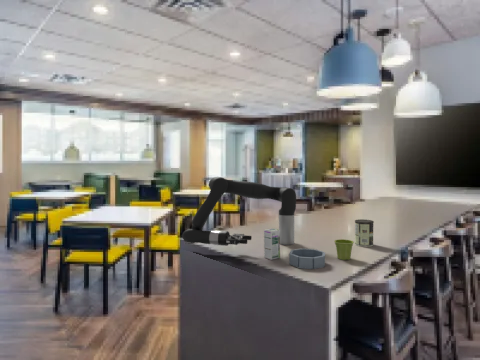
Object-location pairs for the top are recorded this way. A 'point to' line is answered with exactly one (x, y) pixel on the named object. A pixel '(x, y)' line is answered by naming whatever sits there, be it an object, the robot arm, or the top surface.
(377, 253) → the top surface
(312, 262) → the bowl
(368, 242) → the coffee can
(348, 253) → the plant pot
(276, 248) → the syrup box
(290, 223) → the robot arm
